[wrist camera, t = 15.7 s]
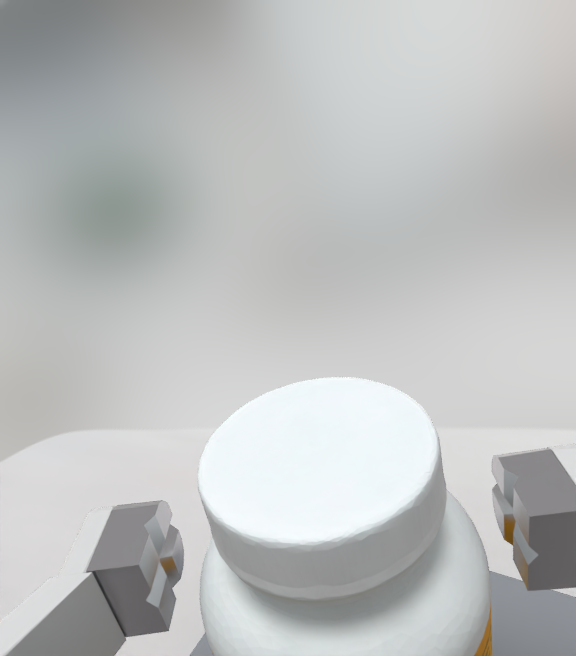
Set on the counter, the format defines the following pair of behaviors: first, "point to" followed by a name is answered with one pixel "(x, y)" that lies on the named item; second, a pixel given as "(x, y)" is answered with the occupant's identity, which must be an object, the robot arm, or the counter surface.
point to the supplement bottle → (337, 530)
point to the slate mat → (516, 621)
